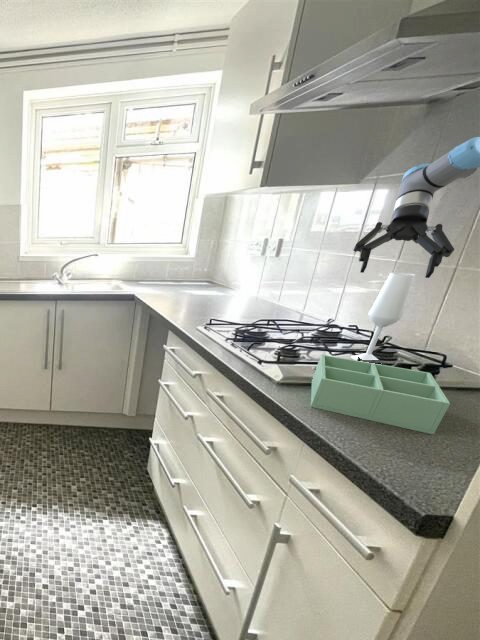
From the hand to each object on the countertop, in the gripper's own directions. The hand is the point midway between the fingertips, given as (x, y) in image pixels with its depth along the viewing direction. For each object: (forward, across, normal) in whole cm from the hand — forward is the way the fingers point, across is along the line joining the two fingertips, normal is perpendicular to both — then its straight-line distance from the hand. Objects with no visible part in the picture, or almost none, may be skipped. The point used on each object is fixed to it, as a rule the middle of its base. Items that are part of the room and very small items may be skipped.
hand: (395, 272), depth 116 cm
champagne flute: (+24, 0, -9) cm, 26 cm away
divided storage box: (+50, +2, +18) cm, 53 cm away
